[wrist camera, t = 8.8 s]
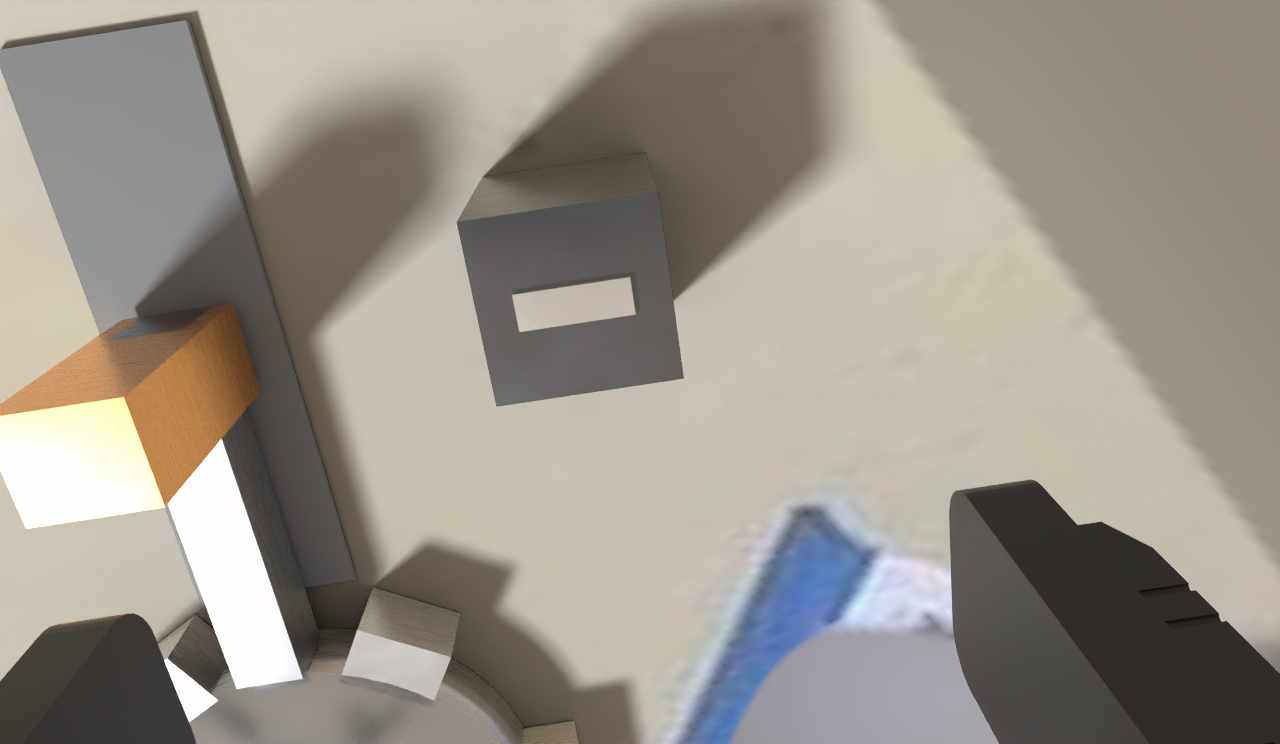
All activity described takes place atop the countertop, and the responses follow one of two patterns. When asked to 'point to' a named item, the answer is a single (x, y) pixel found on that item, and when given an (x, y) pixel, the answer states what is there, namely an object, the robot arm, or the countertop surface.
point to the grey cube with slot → (571, 279)
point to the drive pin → (170, 470)
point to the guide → (170, 232)
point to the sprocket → (353, 687)
